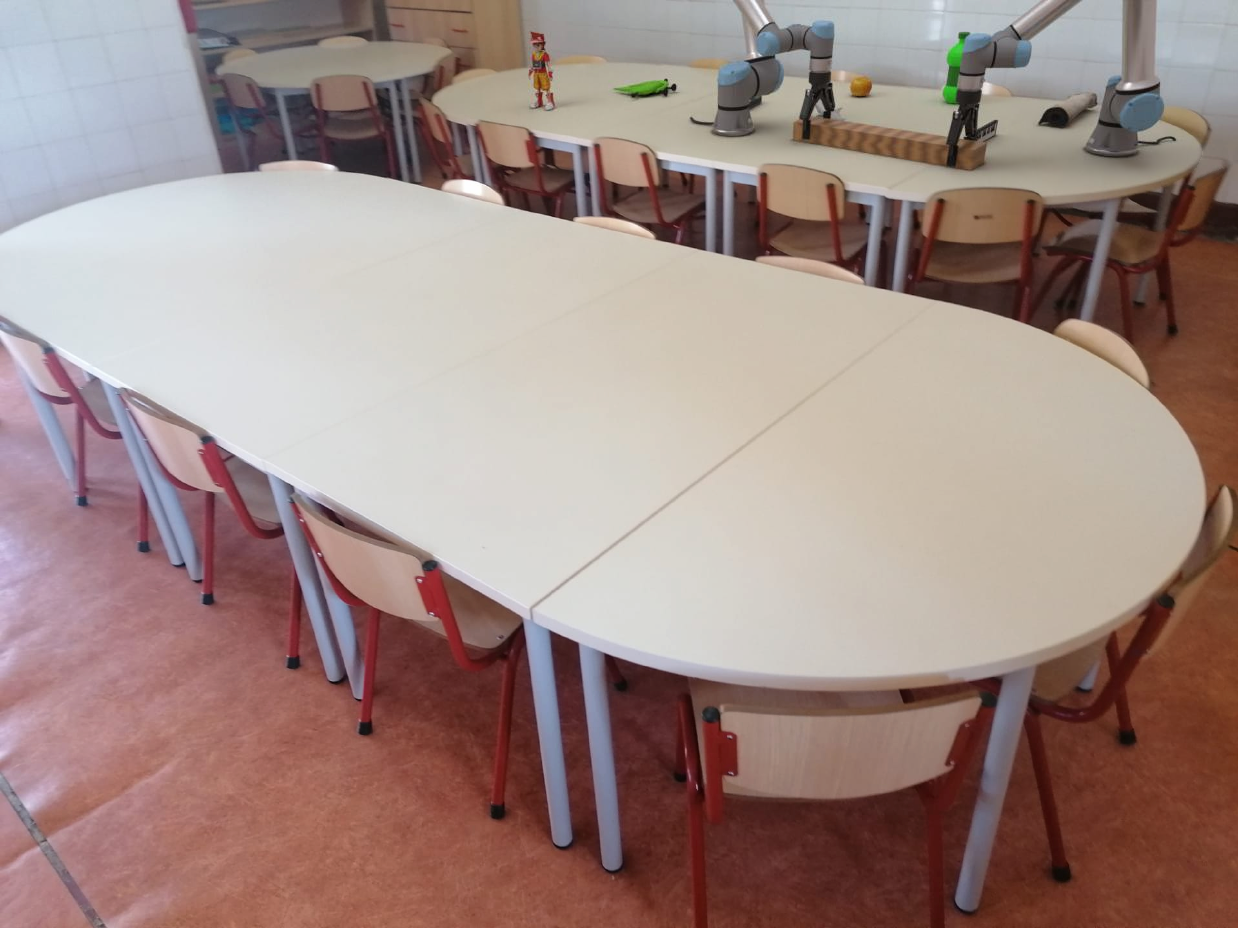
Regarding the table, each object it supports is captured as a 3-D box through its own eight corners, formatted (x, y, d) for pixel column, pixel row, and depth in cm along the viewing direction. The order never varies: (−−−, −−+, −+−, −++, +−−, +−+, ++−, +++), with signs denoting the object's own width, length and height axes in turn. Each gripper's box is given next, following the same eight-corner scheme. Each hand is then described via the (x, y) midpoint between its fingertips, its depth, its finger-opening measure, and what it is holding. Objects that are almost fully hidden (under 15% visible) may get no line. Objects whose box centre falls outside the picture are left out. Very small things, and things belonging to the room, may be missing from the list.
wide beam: (792, 140, 323) (793, 121, 320) (806, 134, 329) (808, 115, 325) (970, 170, 285) (974, 149, 281) (983, 163, 290) (987, 142, 287)
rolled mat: (1065, 97, 339) (1089, 80, 331) (1078, 117, 340) (1103, 101, 331) (1034, 118, 322) (1058, 101, 314) (1048, 140, 322) (1073, 123, 314)
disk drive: (746, 111, 360) (762, 102, 370) (746, 104, 358) (762, 95, 368) (723, 109, 364) (739, 100, 374) (723, 102, 363) (739, 93, 373)
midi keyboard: (974, 147, 304) (977, 131, 301) (970, 146, 305) (973, 131, 302) (995, 135, 315) (998, 120, 312) (992, 134, 315) (994, 119, 313)
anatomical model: (809, 92, 345) (834, 85, 344) (812, 119, 351) (837, 112, 350) (819, 101, 333) (845, 94, 332) (822, 129, 339) (848, 122, 338)
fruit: (845, 88, 367) (857, 70, 364) (847, 92, 375) (859, 74, 372) (862, 99, 366) (874, 81, 363) (864, 103, 374) (876, 85, 371)
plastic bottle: (973, 101, 354) (984, 32, 339) (955, 106, 349) (966, 36, 335) (952, 97, 361) (962, 29, 346) (934, 102, 356) (944, 33, 342)
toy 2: (686, 85, 398) (631, 84, 414) (685, 72, 395) (629, 72, 411) (651, 104, 381) (596, 103, 397) (650, 92, 378) (594, 91, 394)
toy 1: (525, 109, 381) (517, 32, 364) (534, 104, 388) (527, 28, 371) (550, 110, 377) (543, 32, 360) (559, 105, 384) (553, 28, 367)
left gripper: (810, 79, 300) (806, 144, 312) (848, 65, 314) (843, 128, 326) (791, 76, 304) (787, 141, 316) (829, 63, 319) (825, 125, 331)
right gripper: (965, 97, 270) (953, 172, 282) (996, 83, 283) (983, 155, 295) (941, 95, 274) (930, 168, 287) (973, 80, 287) (962, 151, 300)
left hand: (816, 134), depth 321 cm, fingers open, 12 cm apart
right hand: (957, 161), depth 291 cm, fingers closed on wide beam, 9 cm apart
